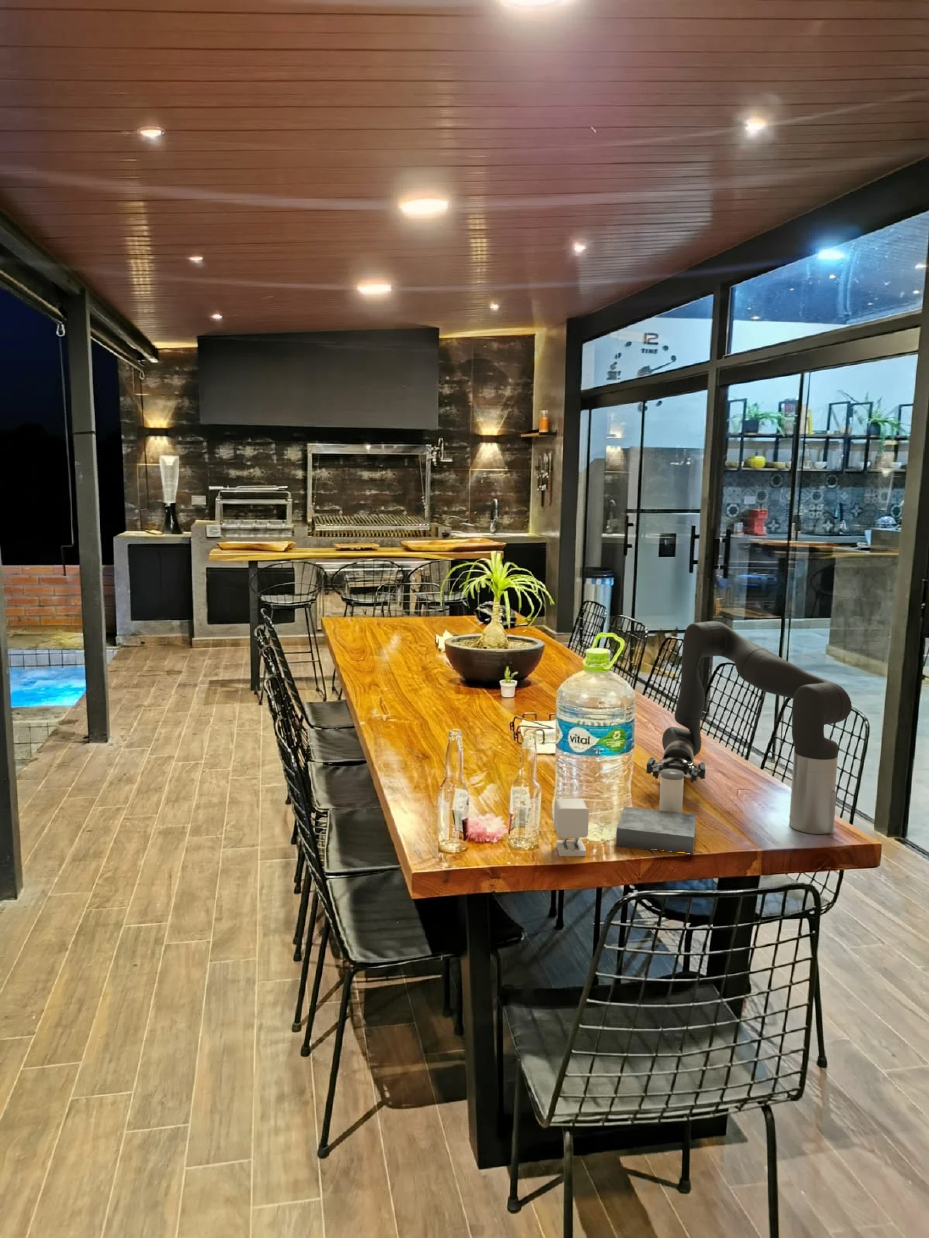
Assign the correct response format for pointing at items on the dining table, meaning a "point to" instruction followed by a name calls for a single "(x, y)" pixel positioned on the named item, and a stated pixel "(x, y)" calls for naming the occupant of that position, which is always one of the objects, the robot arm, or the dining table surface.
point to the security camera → (571, 826)
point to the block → (656, 830)
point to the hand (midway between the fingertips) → (674, 776)
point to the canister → (671, 790)
